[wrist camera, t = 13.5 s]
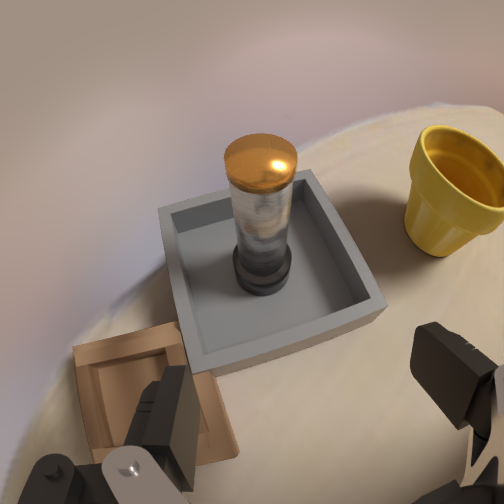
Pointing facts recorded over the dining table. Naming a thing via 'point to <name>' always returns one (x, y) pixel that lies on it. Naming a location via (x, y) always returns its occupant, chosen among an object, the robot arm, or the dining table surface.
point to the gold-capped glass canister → (261, 210)
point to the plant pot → (452, 190)
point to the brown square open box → (135, 381)
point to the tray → (273, 306)
